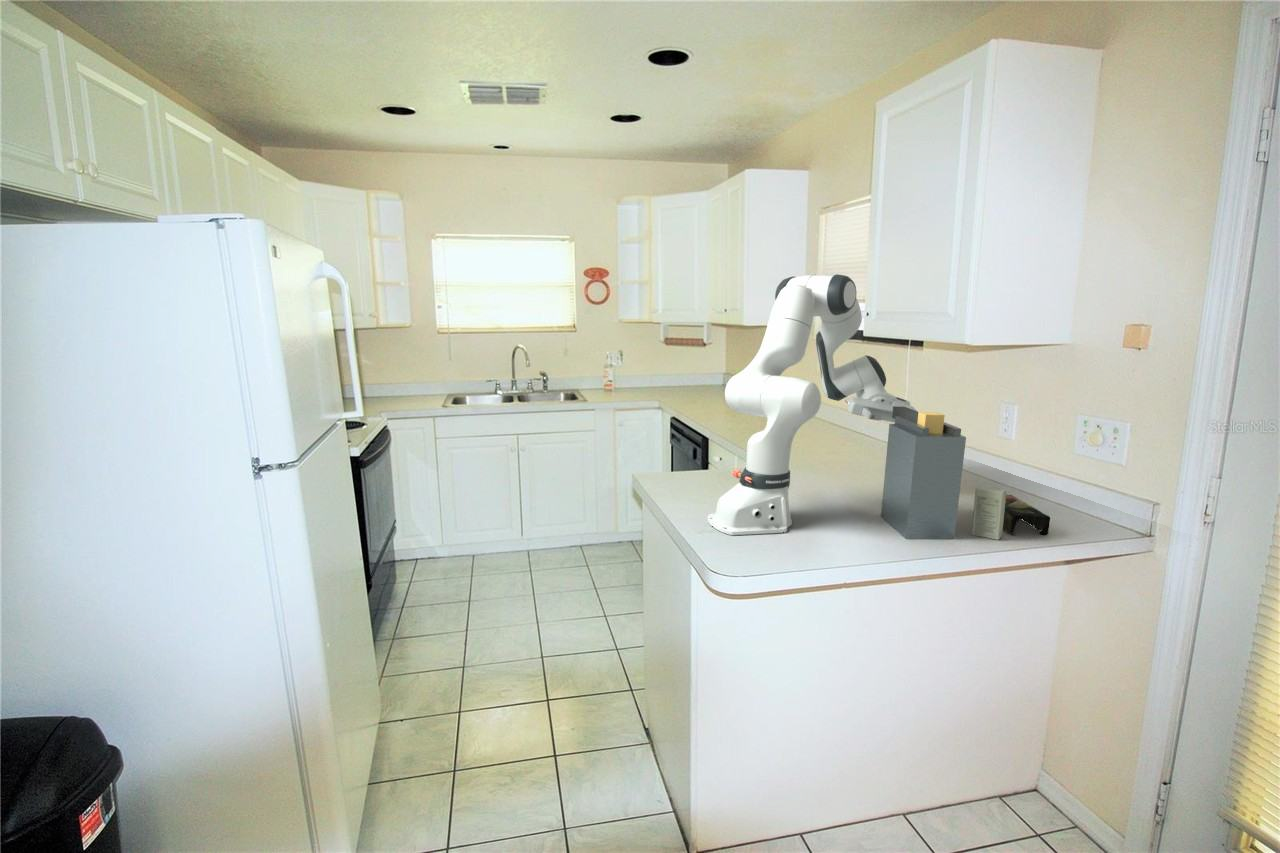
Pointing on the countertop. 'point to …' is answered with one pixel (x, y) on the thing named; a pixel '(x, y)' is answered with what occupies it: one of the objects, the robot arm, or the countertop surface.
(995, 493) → the skincare box
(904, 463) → the grey tall box
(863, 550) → the countertop surface
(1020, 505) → the juice carton
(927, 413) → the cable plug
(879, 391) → the robot arm
